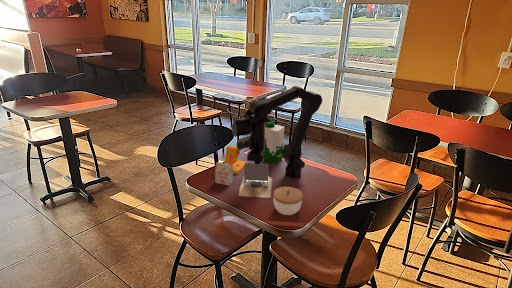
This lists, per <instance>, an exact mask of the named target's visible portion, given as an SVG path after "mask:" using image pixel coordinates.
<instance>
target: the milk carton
mask: <svg viewBox="0 0 512 288" xmlns="http://www.w3.org/2000/svg"><path fill="white" fill-rule="evenodd" d="M284 135H285V126H282V125H279V124H275V122H274V121H272V120H270V122H265V138H266V139H267V140H266V146H264V149H265V153H264V158H263V161H262V162H263V163H265V164H279V163H281V162H282V161H283V157H282V152H281V151H282V150H283V147H284ZM280 161H281V162H280Z"/></svg>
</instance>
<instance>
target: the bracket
mask: <svg viewBox="0 0 512 288" xmlns="http://www.w3.org/2000/svg"><path fill="white" fill-rule="evenodd" d="M240 154H241V150H239V149H238V148H237V145H231V144H228V145H227V147H226V150H225V154H224V155H225V156H224V163H225V164H231V167H232V170H233V175H240V173H241V172H242V171H243V170H245V163H248V162H247V161H245V160H241V159H240V160H239V159H238V158H239V156H240Z"/></svg>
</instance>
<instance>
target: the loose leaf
mask: <svg viewBox="0 0 512 288" xmlns="http://www.w3.org/2000/svg"><path fill="white" fill-rule="evenodd" d="M269 167H270V163H260V164H256V163H255V162H254V163H253V162H252V163H251V162H247V163H245V168H244V174H243V176H244V180H257V181H251V183H250V186H262V182H261V181H268V176H269V173H270V172H269V171H270V169H269Z"/></svg>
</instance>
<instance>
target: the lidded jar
mask: <svg viewBox="0 0 512 288" xmlns="http://www.w3.org/2000/svg"><path fill="white" fill-rule="evenodd" d="M272 196H273V206H274V208H275V209H276V211H277V213H279V214H281V215H284V216H293V215H295V214H296V213H298V211H299V210H300V209H301V206H302V202H303V192H302V191H301V190H300V189H298V188H296V187H293V186H292V187H291V186H280V187H278V188H276V189H275V190H274V191H273V195H272Z"/></svg>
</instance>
